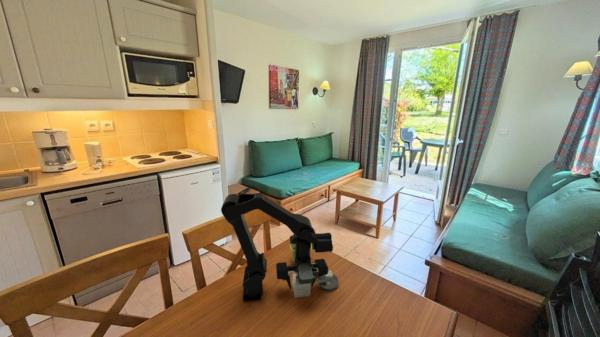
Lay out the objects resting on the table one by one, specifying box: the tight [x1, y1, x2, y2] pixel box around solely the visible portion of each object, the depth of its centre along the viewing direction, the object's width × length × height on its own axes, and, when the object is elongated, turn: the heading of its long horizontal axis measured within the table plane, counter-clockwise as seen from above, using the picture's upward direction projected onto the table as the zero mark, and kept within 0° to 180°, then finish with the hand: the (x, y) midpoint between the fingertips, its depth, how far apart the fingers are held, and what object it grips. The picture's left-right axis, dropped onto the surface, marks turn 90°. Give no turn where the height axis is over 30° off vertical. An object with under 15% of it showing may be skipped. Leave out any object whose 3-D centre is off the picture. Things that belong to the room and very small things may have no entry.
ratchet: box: [316, 269, 339, 293], centre depth 97 cm, size 16×8×5 cm, turn 10°
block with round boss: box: [291, 273, 312, 298], centre depth 89 cm, size 6×6×7 cm
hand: (301, 287), depth 89 cm, fingers open, 8 cm apart
